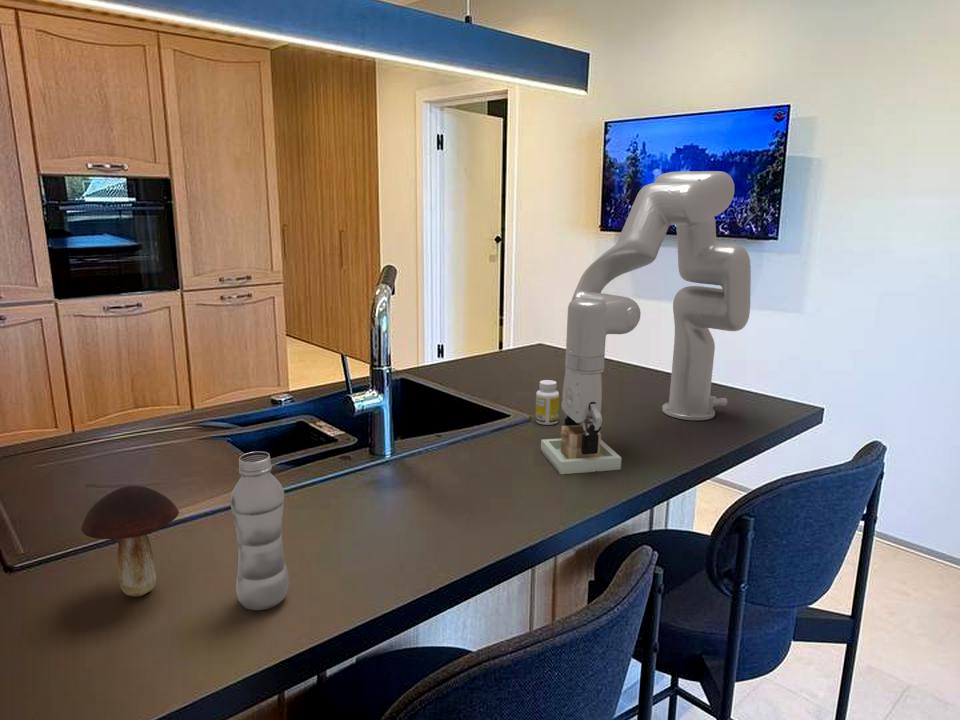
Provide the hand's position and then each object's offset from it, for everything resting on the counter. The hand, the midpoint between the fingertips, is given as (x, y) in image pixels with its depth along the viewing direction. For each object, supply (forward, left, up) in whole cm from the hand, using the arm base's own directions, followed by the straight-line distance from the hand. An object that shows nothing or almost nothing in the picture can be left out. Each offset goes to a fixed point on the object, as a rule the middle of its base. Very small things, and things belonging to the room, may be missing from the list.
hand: (580, 444), depth 134 cm
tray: (0, 0, -3) cm, 3 cm away
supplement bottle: (-1, -24, -4) cm, 24 cm away
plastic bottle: (+58, +38, -4) cm, 69 cm away
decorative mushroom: (+74, +33, -4) cm, 81 cm away
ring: (0, 0, -2) cm, 2 cm away
